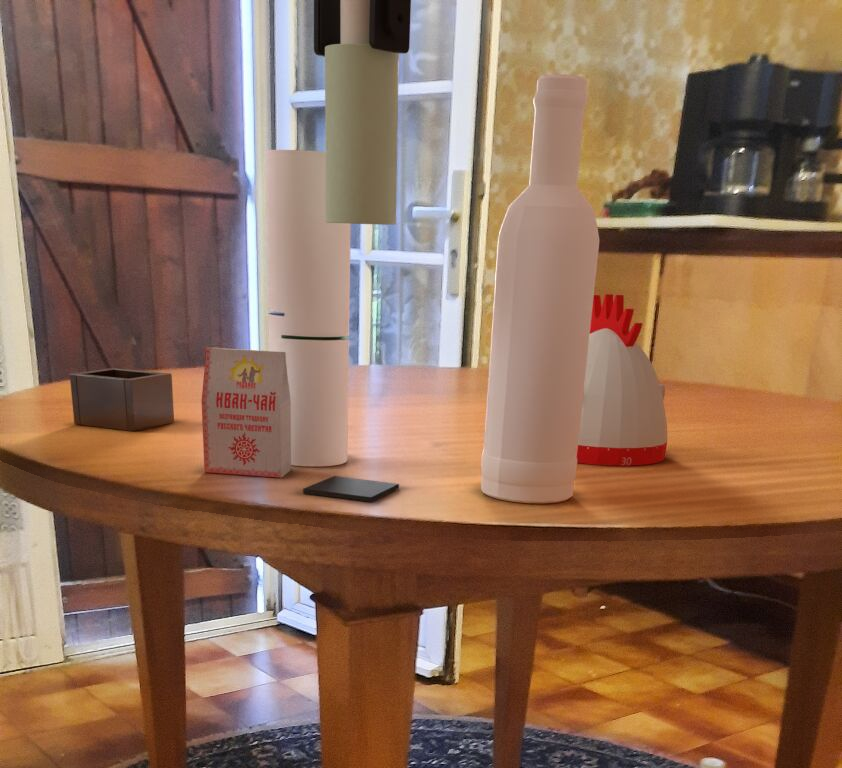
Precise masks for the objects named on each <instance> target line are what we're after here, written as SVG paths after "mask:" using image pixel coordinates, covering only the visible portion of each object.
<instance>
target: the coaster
mask: <svg viewBox="0 0 842 768" xmlns="http://www.w3.org/2000/svg"><path fill="white" fill-rule="evenodd" d="M399 489H400V484H399V483H396V482H386V481H379V480H370V479H363V478H353V477H347V476H338V475H333V476H331V477H328V478H326V479H324V480H321V481H318V482H315V483H314V484H311V485H308V486H306V487H304V488H302V493H303V494H304V495H313V496H320V497H328V498H329V497H330V498H334V499H335V498H336V499H343V500H352V501H359V502H366V503H373V502H374V501H376V500H379V499H380V498H383V497H384V496H386V495H389V494H391V493H393V492H394V491H397V490H399Z"/></svg>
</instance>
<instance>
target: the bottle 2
mask: <svg viewBox="0 0 842 768" xmlns="http://www.w3.org/2000/svg"><path fill="white" fill-rule="evenodd" d="M587 87H588V81H587V80H586V78H585V77H583V76H580V75H574V74H566V73H565V74H560V73H559V74H558V73H554V74H553V73H552V74H550V73H549V74H544V75H541V76H540V77H539V78H538V79H537V81H536V92H535V94H534V95H533V96H534V97H533V103H532V104H533V107H534V108H533V109H534V116H533V117H534V118H533V130H532V141H531V142H532V145H531V155H530V156H531V157H530V169H529V170H530V171H529V182H528V186H527V187H526V188H524V189H523V191H522V192H521V193H520V194H519V195H518V196H517V197H516V198H515V199H514V200H513V201H512V202H511V203H510V204H509V205H508V208H507V210H506V212H505V216H504V218H503V221H502V224H501V226H500V230H499V232H498V235H497V248H496V249H497V250H496V264H495V276H494V278H495V279H494V293H493V306H492V307H493V308H492V309H493V310H492V323H491V336H490V338H491V339H490V351H489V352H490V353H489V367H488V380H487V381H488V382H487V393H486V395H487V396H486V409H485V410H486V411H485V424H484V426H485V427H484V440H483V450H482V453H481V464H480V466H481V467H480V473H481V482H480V483H481V484H480V491H481V492H482V493H483V494H484V495H485V496H487V497H489V498H492V499H496V500H500V501H505V502H512V503H521V504H555V503H561V502H565V501H567V500H569V499H570V498H571V497H573V496H574V485H575V481H576V477H577V471H578V469H577V468H578V463H577V449H578V439H579V430H580V420H581V411H582V402H583V392H584V383H585V373H586V364H587V354H588V345H589V335H590V326H591V316H592V307H593V297H594V295H595V289H596V288H595V287H596V278H597V269H598V259H599V250H600V235H599V229H598V223H597V218H596V214H595V210H594V208H593V206H591V205H592V204H590V203H589V201H588V199H586V196H584V195H583V193H582V191H581V190H580V189H579V188H578V180H579V170H580V161H581V148H582V141H583V140H582V139H583V130H584V129H583V128H584V117H585V110H586V108H587V106H588V96H587Z"/></svg>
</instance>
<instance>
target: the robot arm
mask: <svg viewBox="0 0 842 768" xmlns="http://www.w3.org/2000/svg"><path fill="white" fill-rule="evenodd" d="M411 6H412V0H370V19H369V44H370V46H371V47H372V48H373V49H378V50H383V51H388V52H393V53H398V54H399V55H402V54H408V53H409V51H410V42H411V41H410V39H411V14H412V13H411V9H412V7H411ZM333 44H341V18H340V0H313V52H314V53H315V55H316V56H318V57H324V58H325V47H326V46H328V45H333Z"/></svg>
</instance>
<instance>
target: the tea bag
mask: <svg viewBox="0 0 842 768" xmlns="http://www.w3.org/2000/svg"><path fill="white" fill-rule="evenodd" d="M204 349H205V351H204V369H203V371H204V372H203V381H202V390H201V391H202V393H201V419H202V421H201V423H202V443H203V465H204V466H203V467H204V468H203V469H204V473H208V474H222V475H236V476H251V477H264V478H279V479H281V478H283V477H284V476H286V475H287V474H288V473H289V472H290V471H291V470H292V465H291V399H290V391H289V383H288V376H287V366H286V354H285V352H276V351H269V350H259V349H241V348H227V347H225V348H224V347H209V346H207V347H205V348H204Z"/></svg>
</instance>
